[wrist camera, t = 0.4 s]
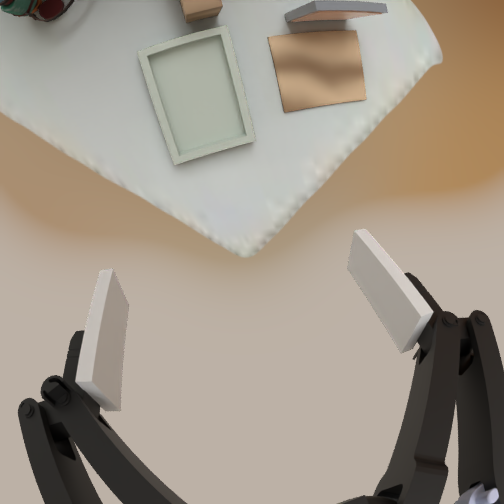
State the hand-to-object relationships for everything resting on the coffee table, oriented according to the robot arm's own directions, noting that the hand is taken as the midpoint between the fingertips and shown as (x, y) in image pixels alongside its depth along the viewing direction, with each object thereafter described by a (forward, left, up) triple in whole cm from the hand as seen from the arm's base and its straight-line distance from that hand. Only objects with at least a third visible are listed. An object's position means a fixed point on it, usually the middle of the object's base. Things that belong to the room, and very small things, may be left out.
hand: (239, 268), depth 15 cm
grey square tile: (-15, +19, -27) cm, 36 cm away
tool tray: (-7, +1, -27) cm, 28 cm away
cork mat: (-7, +18, -27) cm, 33 cm away
